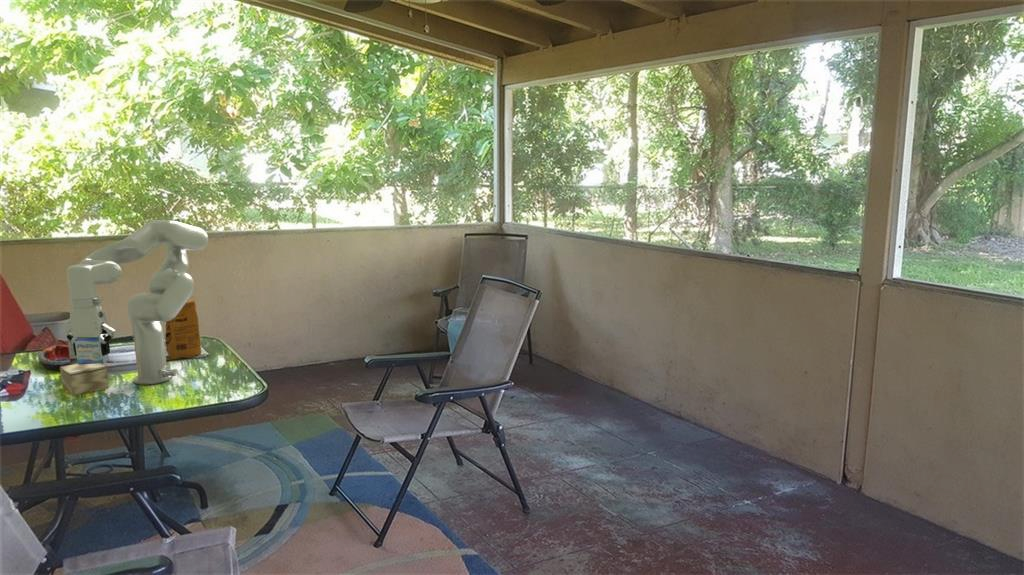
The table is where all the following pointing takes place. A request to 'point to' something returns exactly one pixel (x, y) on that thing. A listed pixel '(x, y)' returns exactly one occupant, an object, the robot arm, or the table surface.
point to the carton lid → (82, 368)
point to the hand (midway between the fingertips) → (92, 354)
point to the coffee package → (183, 333)
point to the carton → (84, 381)
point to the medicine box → (89, 351)
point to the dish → (55, 357)
